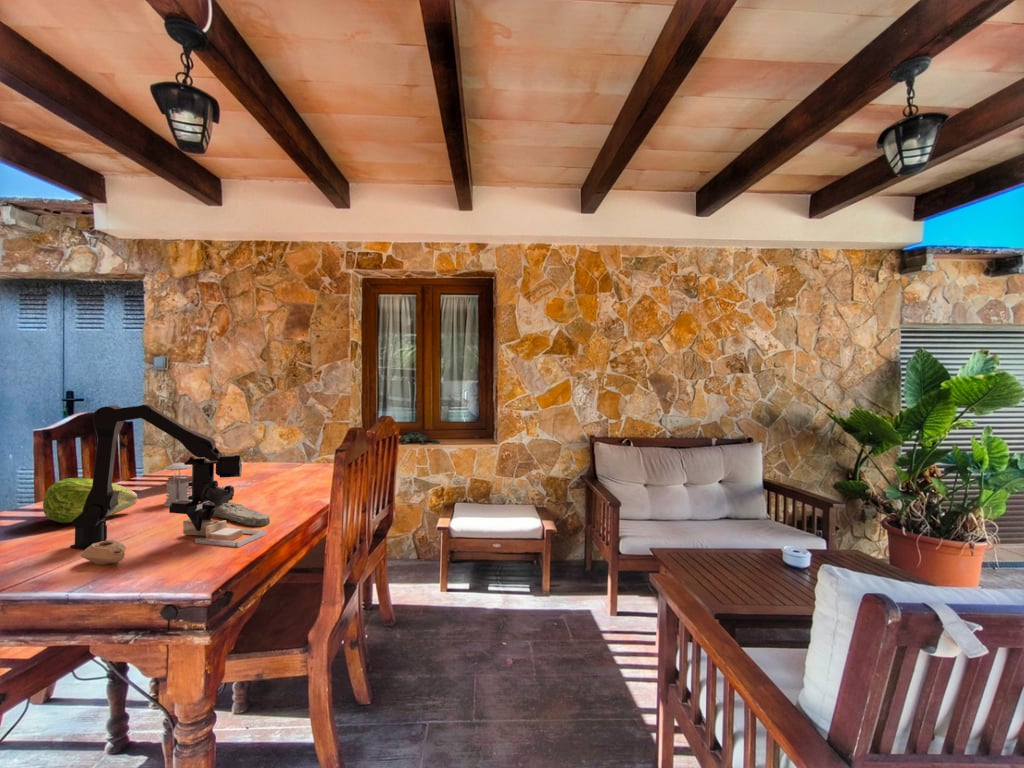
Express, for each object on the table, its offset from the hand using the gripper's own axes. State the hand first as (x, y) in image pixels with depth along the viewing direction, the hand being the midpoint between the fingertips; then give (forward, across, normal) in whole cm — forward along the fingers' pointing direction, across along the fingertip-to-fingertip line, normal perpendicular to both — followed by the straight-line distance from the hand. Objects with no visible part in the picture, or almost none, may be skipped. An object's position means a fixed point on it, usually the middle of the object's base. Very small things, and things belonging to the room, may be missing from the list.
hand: (202, 529), depth 153 cm
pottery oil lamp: (+2, -25, +6) cm, 26 cm away
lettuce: (+2, +6, +48) cm, 48 cm away
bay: (+2, 0, -10) cm, 11 cm away
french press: (+2, +30, +38) cm, 48 cm away
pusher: (+1, 0, 0) cm, 1 cm away
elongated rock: (+3, +20, +5) cm, 21 cm away
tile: (+2, 0, -8) cm, 9 cm away
